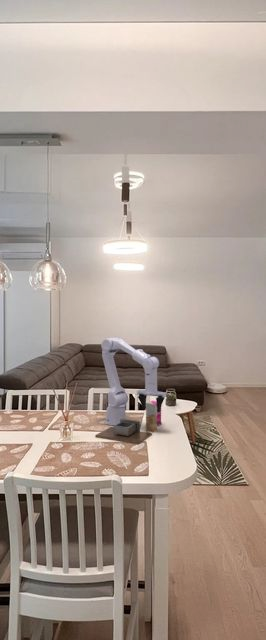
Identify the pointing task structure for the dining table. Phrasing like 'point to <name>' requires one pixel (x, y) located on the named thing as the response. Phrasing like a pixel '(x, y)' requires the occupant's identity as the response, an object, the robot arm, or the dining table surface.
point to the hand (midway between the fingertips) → (151, 410)
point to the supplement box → (153, 411)
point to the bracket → (125, 432)
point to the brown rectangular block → (151, 423)
